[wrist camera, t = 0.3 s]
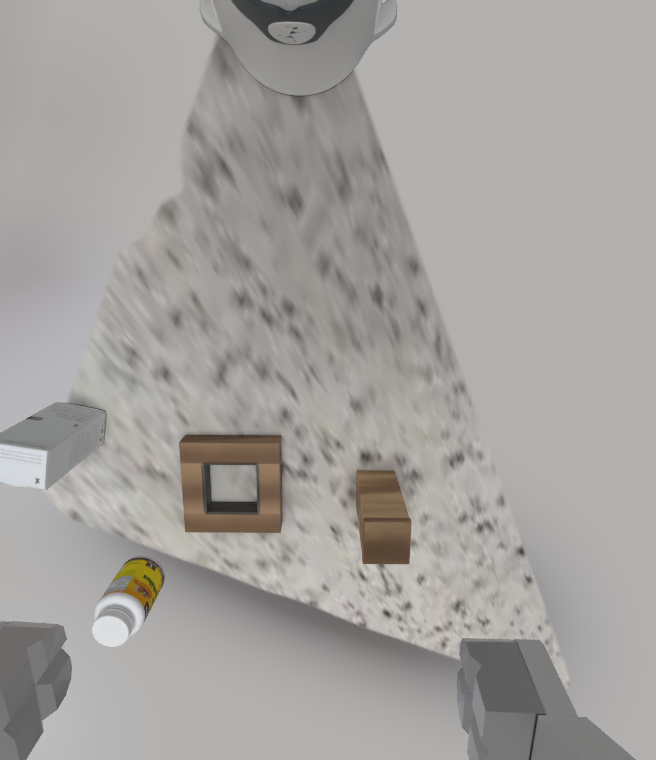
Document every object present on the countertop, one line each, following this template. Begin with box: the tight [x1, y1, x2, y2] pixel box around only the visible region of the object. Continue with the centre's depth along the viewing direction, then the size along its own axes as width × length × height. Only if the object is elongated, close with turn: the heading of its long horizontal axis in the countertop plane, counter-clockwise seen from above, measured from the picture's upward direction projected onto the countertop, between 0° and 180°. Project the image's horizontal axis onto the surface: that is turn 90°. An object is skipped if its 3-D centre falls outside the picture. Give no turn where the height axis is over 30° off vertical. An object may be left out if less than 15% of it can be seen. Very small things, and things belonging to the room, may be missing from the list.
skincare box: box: [0, 403, 106, 490], centre depth 51 cm, size 6×4×12 cm
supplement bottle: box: [92, 556, 165, 647], centre depth 57 cm, size 6×6×10 cm
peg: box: [356, 471, 412, 564], centre depth 54 cm, size 5×5×12 cm
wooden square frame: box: [179, 435, 282, 533], centre depth 58 cm, size 11×11×2 cm
